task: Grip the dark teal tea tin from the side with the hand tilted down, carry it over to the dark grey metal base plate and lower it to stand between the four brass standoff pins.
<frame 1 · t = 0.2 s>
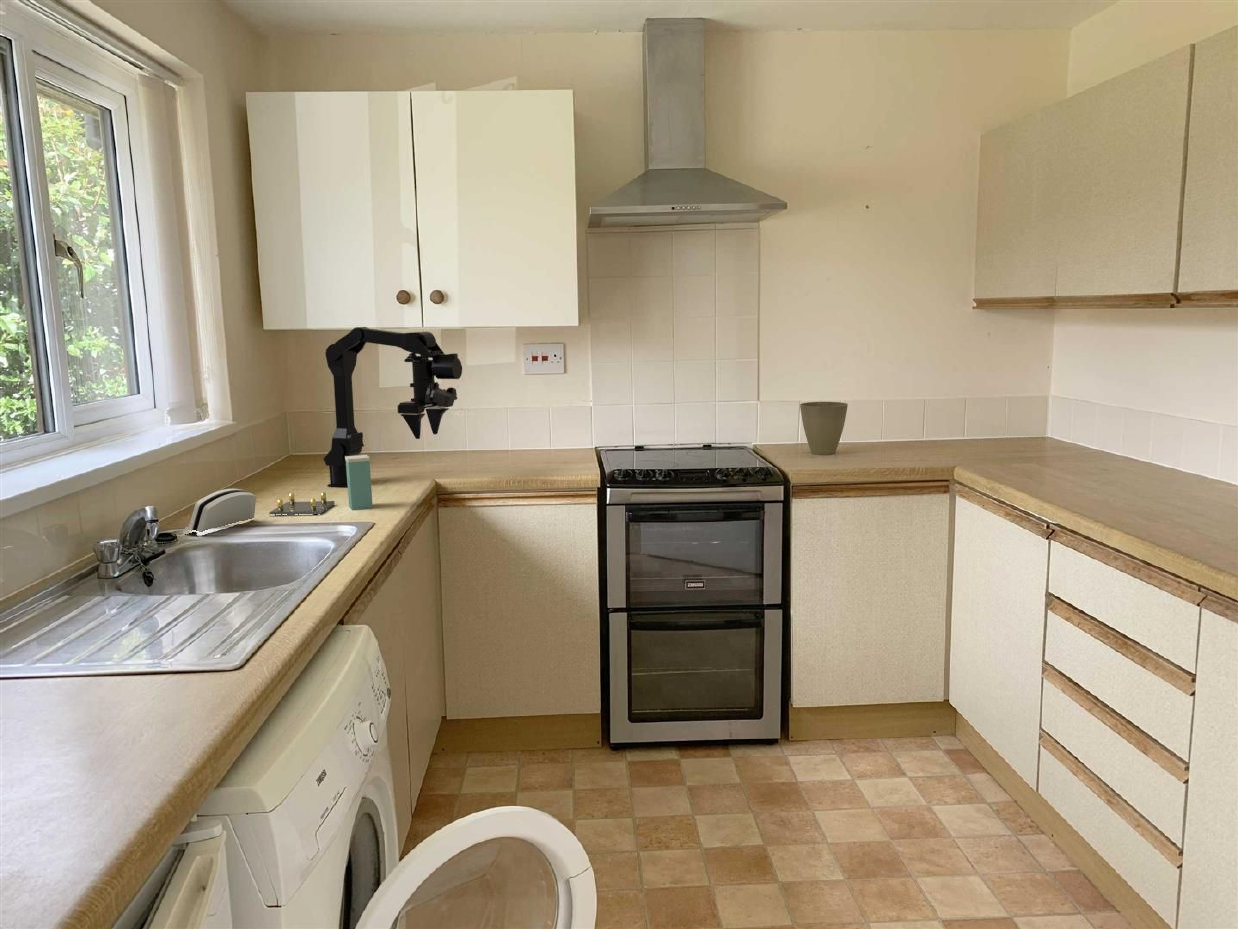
hand: (426, 436, 250), 14 cm above the table, tool pointing down, fingers open, 9 cm apart
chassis: (303, 510, 227), on the table
grey napkin holder: (224, 529, 210), on the table
plant pot: (823, 453, 296), on the table
tea tin: (360, 507, 230), on the table
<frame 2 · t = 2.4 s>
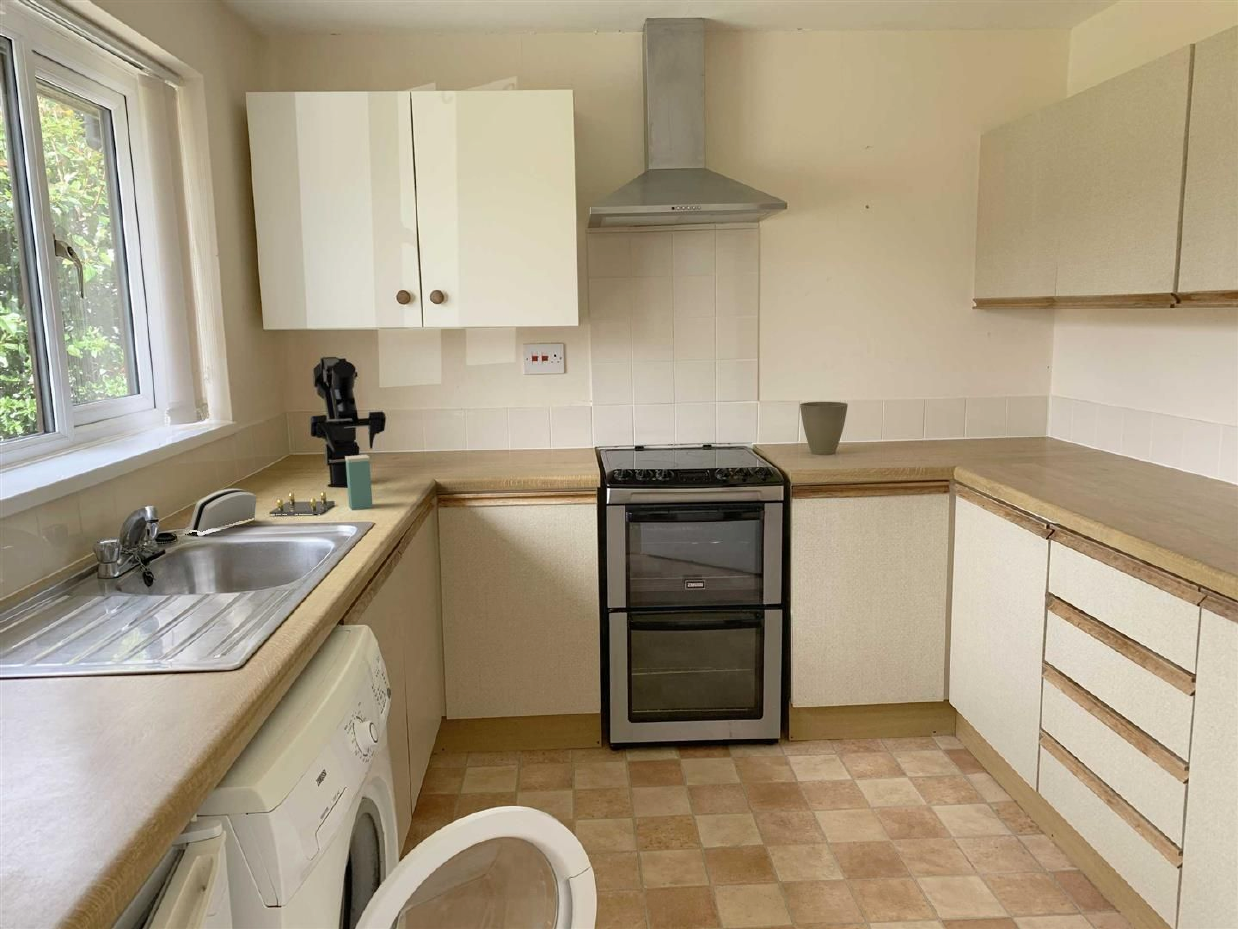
hand: (353, 449, 235), 13 cm above the table, tool tilted 45°, fingers open, 9 cm apart
nothing on the table moved.
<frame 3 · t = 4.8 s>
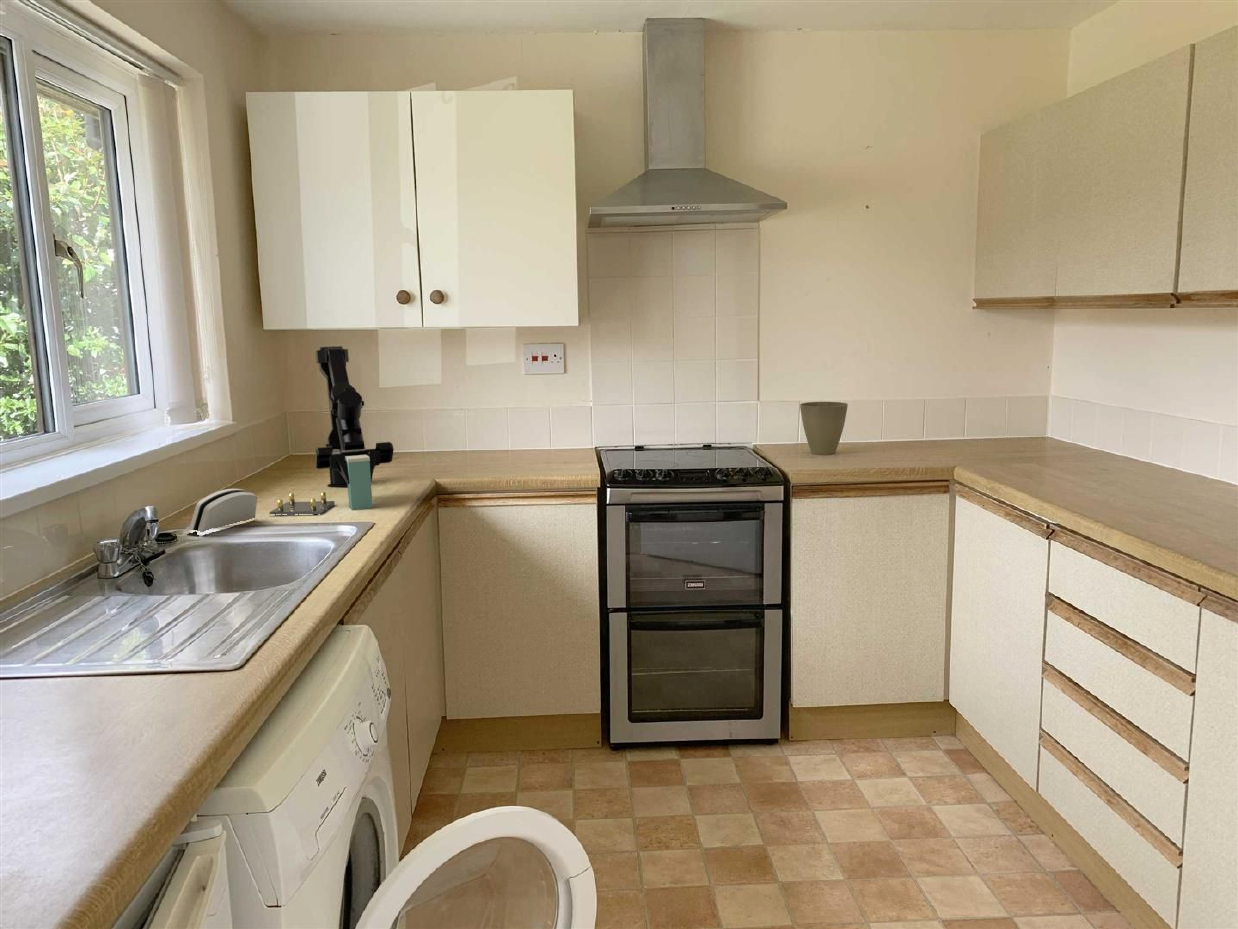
hand: (359, 481, 227), 7 cm above the table, tool tilted 45°, fingers closed on tea tin, 5 cm apart
tea tin: (360, 507, 230), on the table, touching gripper
everything else where it was.
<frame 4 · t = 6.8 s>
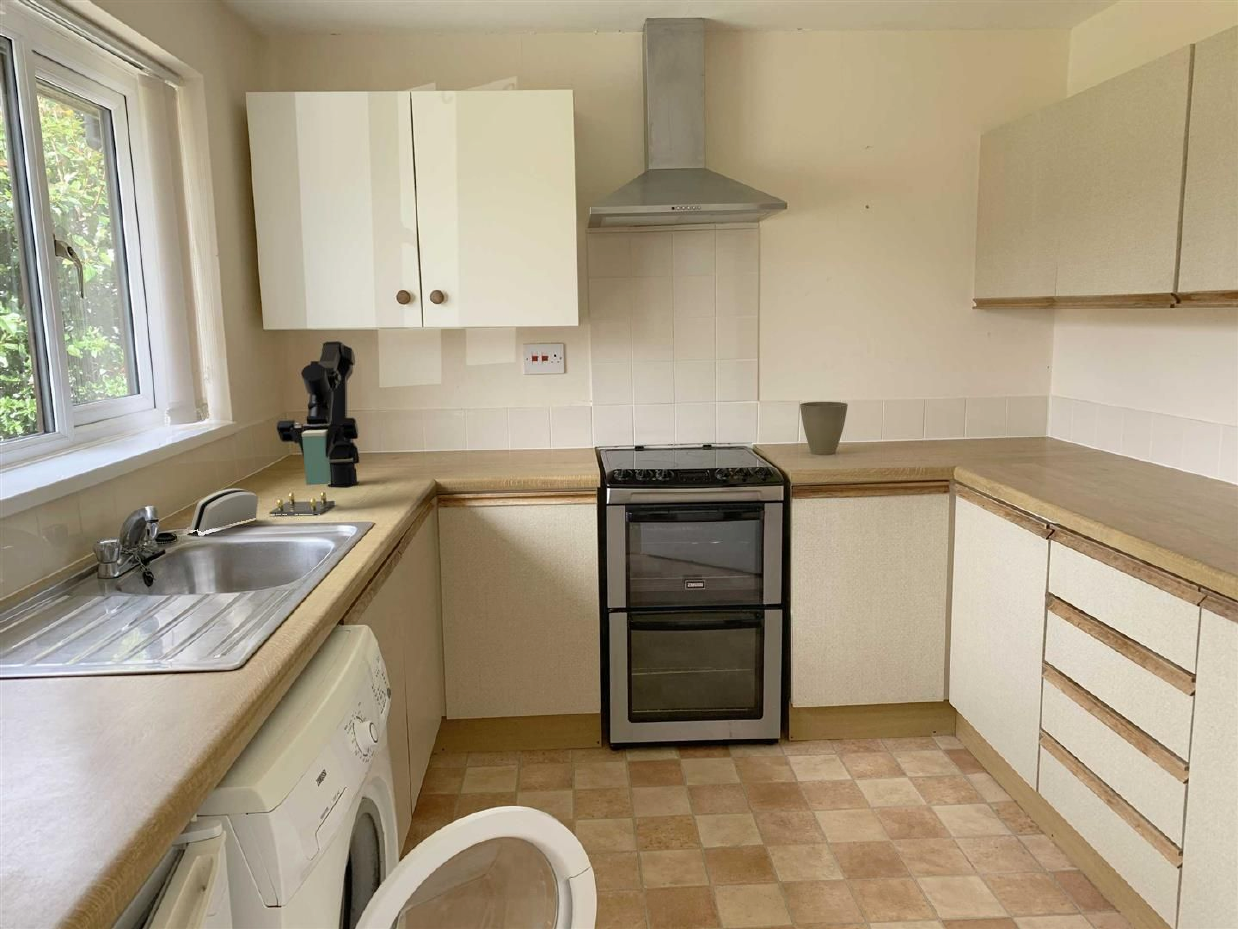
hand: (315, 456, 224), 13 cm above the table, tool tilted 45°, fingers closed on tea tin, 5 cm apart
tea tin: (318, 482, 226), point 7 cm above the table, touching gripper
everything else where it was.
when the fingers open (9 cm above the table, at t = 8.6 s): tea tin drops 1 cm, resting on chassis.
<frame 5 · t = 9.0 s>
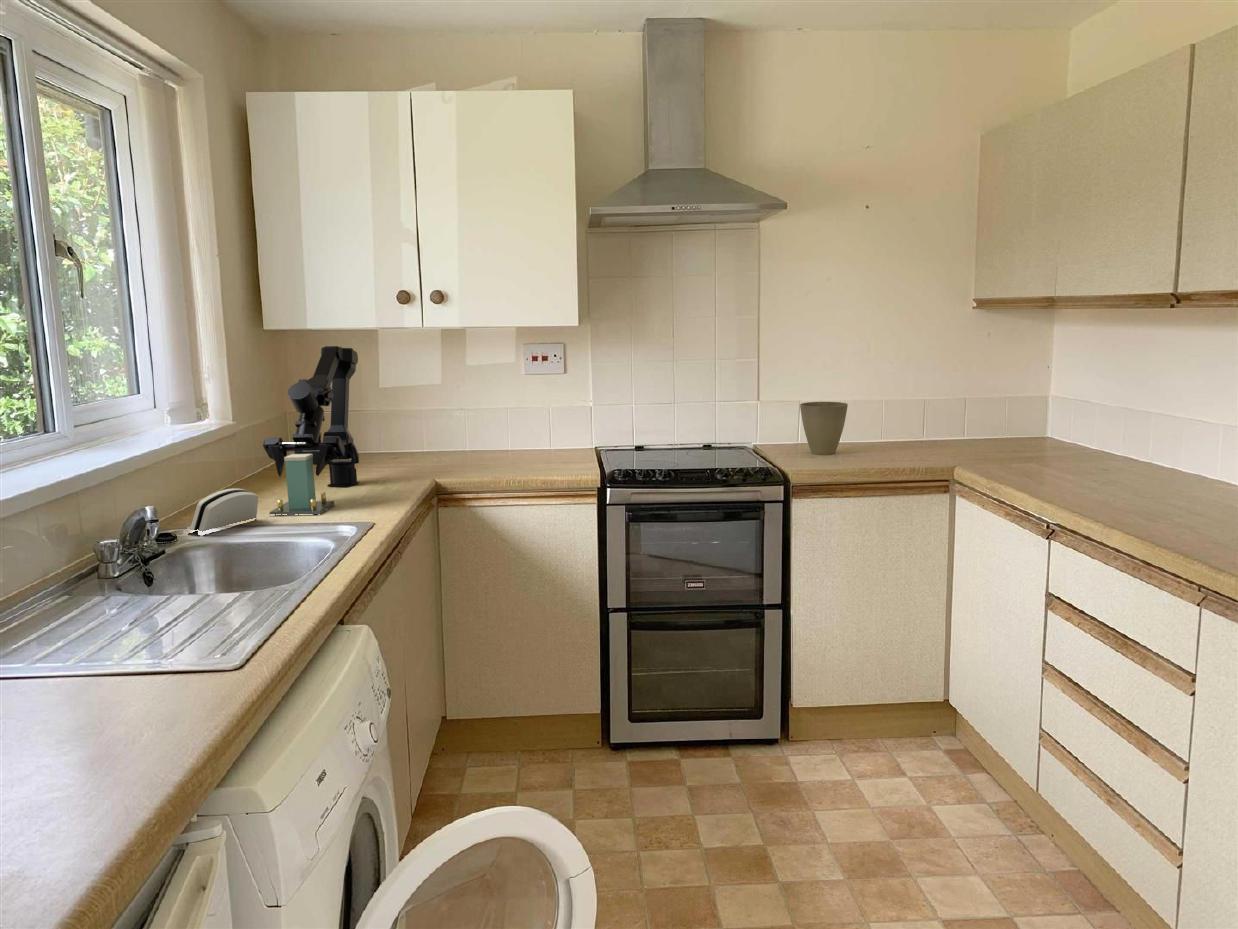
hand: (298, 475, 225), 9 cm above the table, tool tilted 45°, fingers open, 9 cm apart
tea tin: (302, 506, 227), point 1 cm above the table, touching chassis
everything else where it was.
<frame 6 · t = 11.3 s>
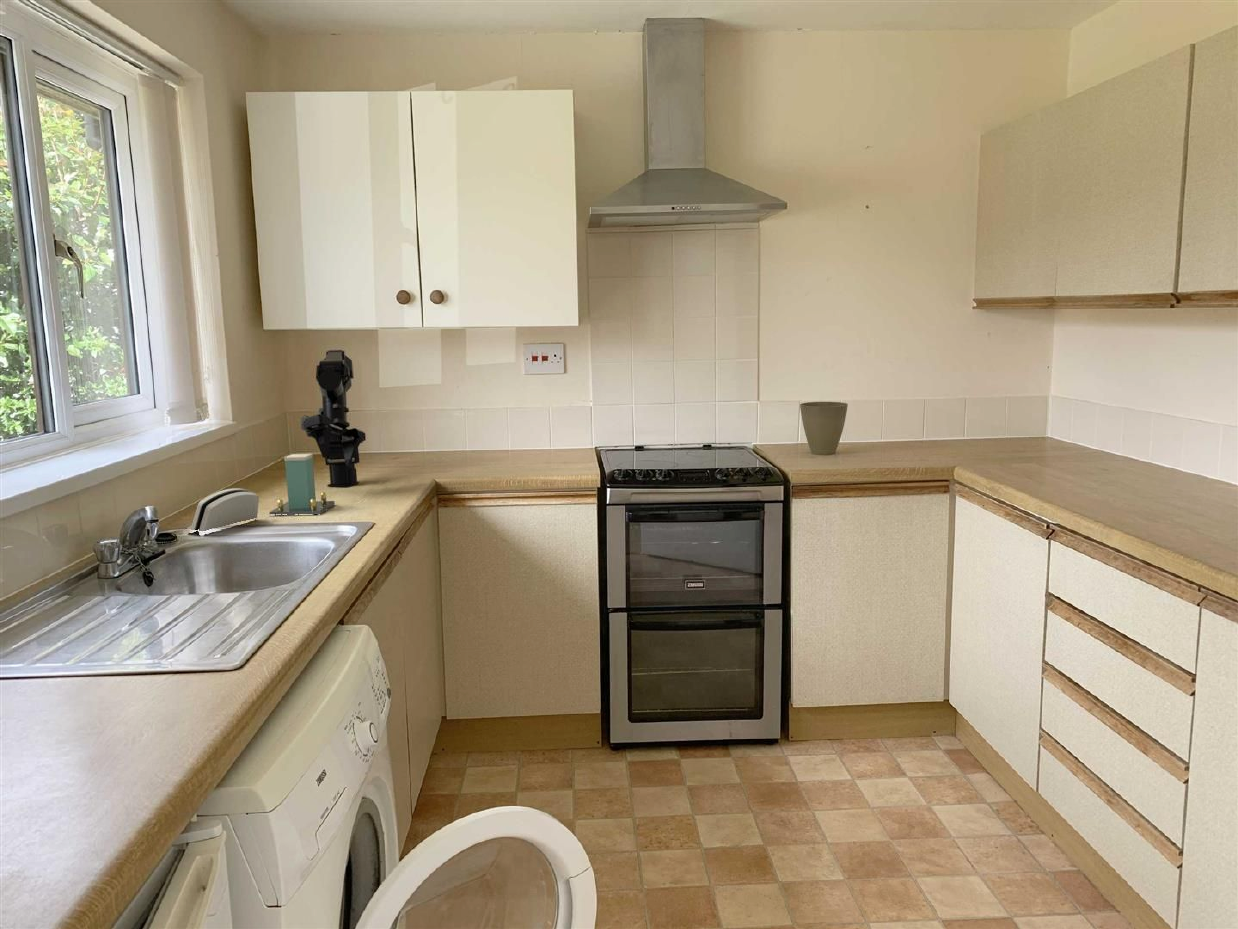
hand: (336, 461, 238), 10 cm above the table, tool tilted 25°, fingers open, 9 cm apart
nothing on the table moved.
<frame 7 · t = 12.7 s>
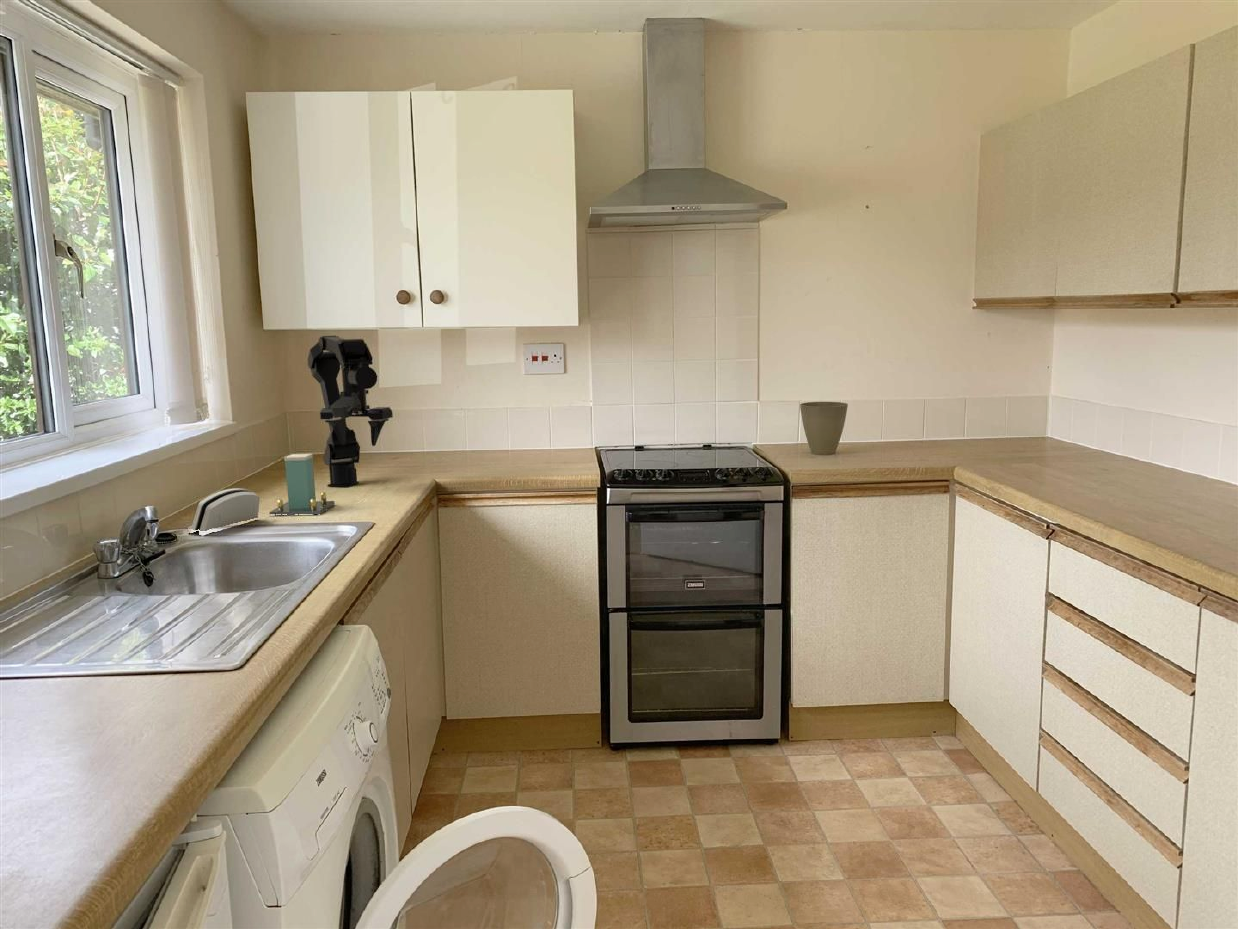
hand: (358, 445, 245), 13 cm above the table, tool pointing down, fingers open, 9 cm apart
nothing on the table moved.
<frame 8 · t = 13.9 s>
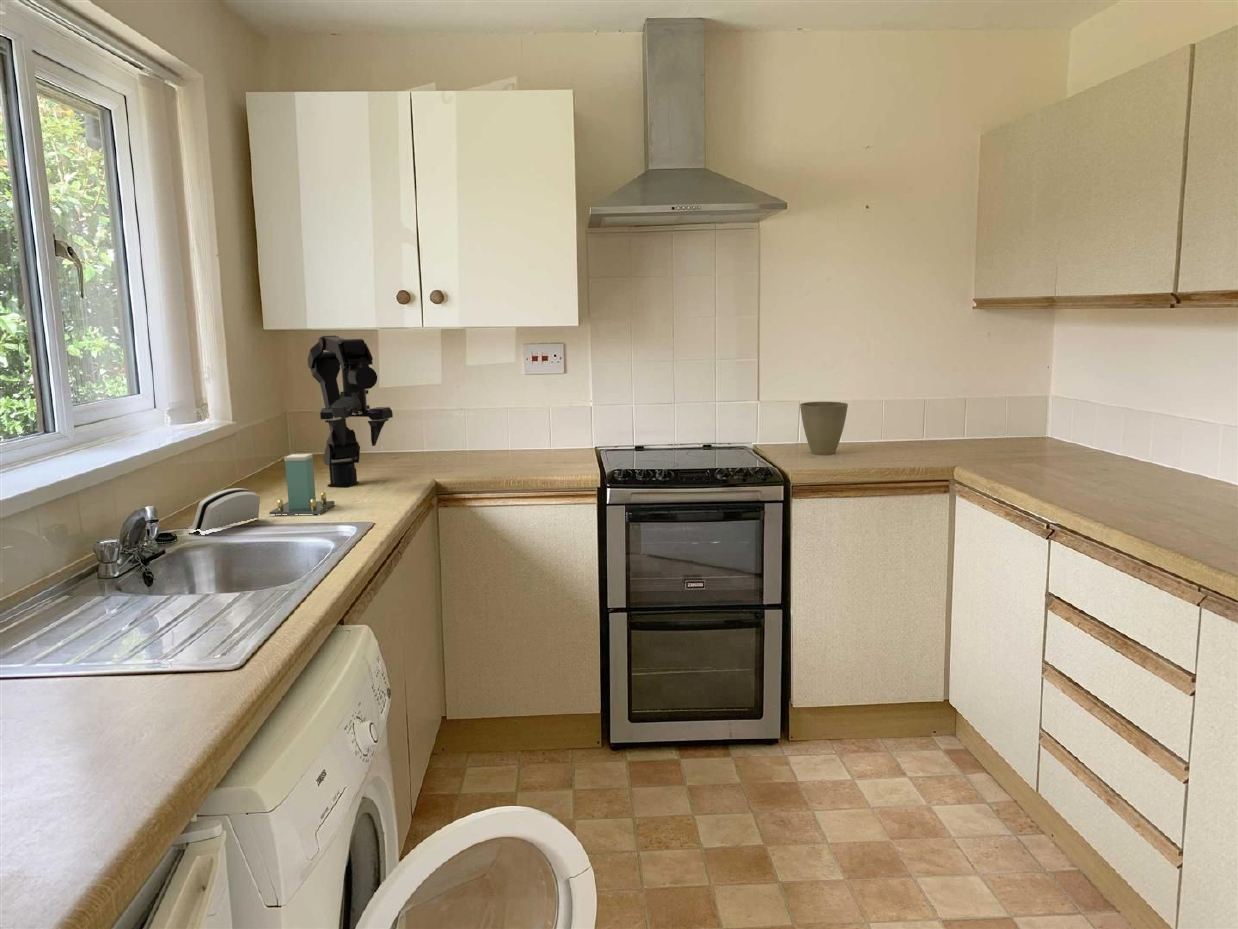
hand: (358, 445, 245), 13 cm above the table, tool pointing down, fingers open, 9 cm apart
nothing on the table moved.
at the end: tea tin 0.0 cm off-centre on the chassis, point 1.0 cm above the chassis's base; tea tin tilted 0°; the gripper is holding nothing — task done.
